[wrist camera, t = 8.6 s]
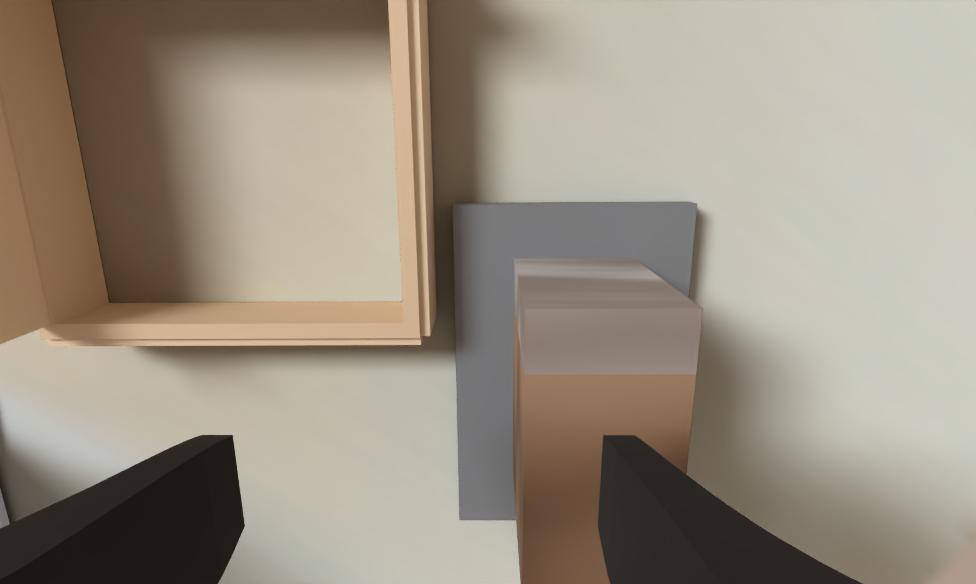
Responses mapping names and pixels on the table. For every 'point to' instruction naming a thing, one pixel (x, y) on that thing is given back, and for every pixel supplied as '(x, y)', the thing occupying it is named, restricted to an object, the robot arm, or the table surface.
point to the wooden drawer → (73, 242)
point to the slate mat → (490, 310)
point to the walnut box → (591, 397)
